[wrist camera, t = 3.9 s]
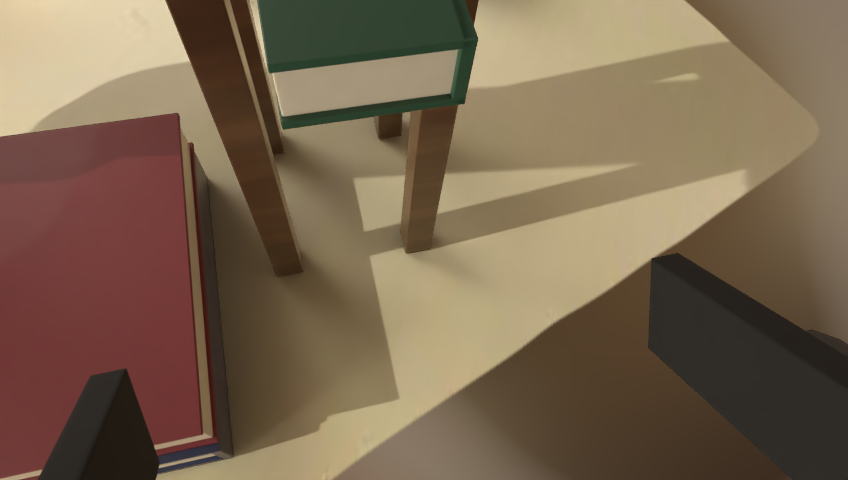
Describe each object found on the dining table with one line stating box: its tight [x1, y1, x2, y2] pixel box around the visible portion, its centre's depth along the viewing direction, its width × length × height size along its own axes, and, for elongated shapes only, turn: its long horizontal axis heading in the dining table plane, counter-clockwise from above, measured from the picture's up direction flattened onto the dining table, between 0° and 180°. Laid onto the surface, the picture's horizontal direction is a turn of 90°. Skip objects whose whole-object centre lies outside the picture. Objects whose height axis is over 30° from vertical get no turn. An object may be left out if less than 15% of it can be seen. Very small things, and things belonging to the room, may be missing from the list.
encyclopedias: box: [0, 113, 233, 480], centre depth 40 cm, size 22×15×8 cm, turn 13°
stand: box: [165, 0, 479, 277], centre depth 36 cm, size 13×12×30 cm
